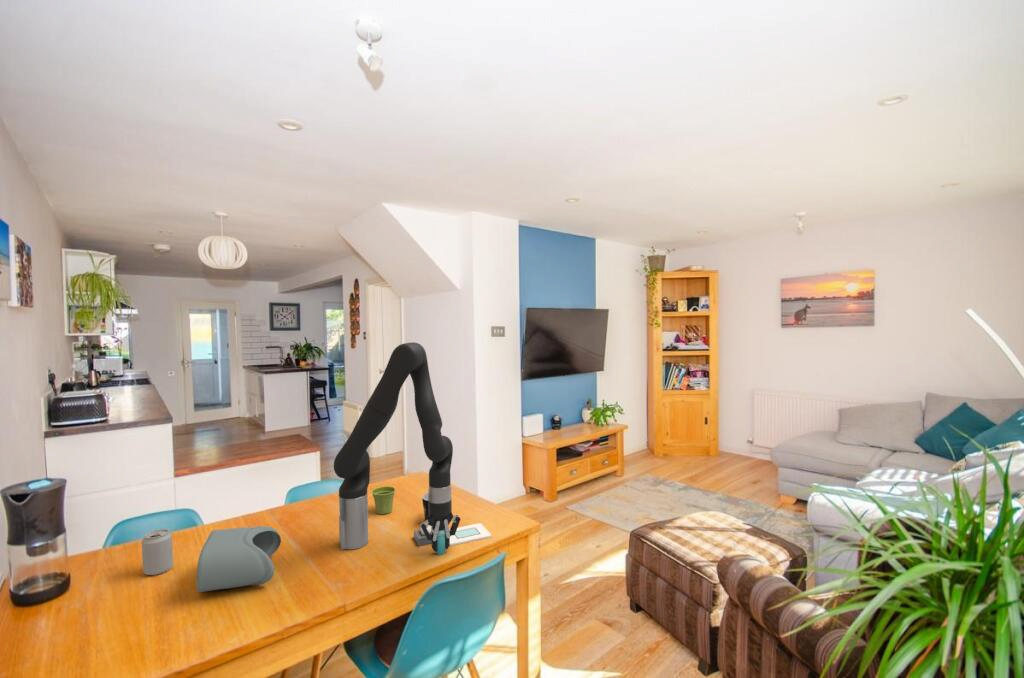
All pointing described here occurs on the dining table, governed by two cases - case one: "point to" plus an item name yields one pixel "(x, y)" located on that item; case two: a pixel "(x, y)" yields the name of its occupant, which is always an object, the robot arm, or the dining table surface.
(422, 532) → the button
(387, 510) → the plant pot
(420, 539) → the button frame
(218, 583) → the grey scooped bin
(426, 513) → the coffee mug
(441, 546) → the marker
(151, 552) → the can
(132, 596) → the dining table surface
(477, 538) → the sheet
